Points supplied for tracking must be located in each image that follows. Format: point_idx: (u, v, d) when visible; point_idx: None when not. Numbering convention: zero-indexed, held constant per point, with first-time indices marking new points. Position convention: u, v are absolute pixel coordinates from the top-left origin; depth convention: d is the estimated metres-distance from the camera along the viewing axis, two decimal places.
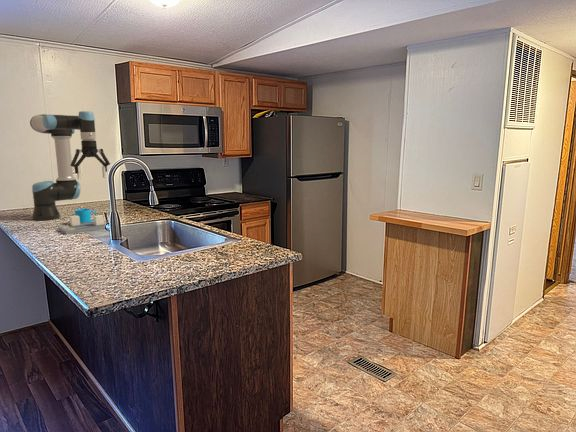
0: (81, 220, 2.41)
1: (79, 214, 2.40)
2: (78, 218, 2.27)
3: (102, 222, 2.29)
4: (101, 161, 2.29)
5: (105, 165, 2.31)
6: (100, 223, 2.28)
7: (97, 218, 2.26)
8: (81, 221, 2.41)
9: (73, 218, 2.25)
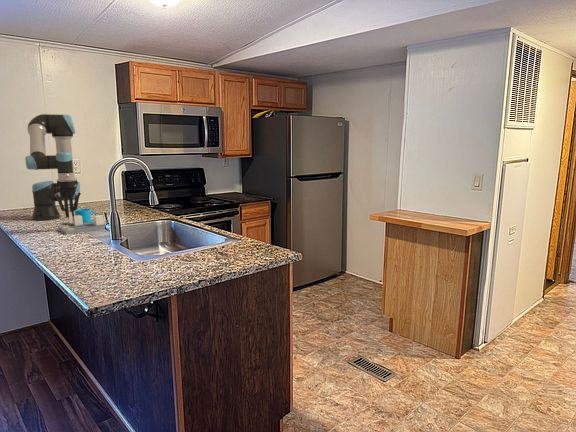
0: None
1: (79, 214, 2.40)
2: (81, 218, 2.28)
3: (102, 222, 2.29)
4: (71, 204, 2.24)
5: (72, 210, 2.25)
6: (100, 223, 2.28)
7: (97, 218, 2.26)
8: None
9: (76, 218, 2.26)
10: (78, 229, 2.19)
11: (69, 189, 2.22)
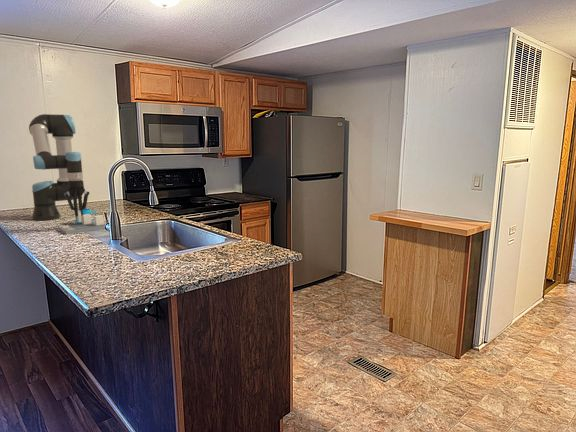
0: None
1: None
2: (89, 217, 2.31)
3: (102, 222, 2.29)
4: (80, 203, 2.27)
5: (81, 209, 2.28)
6: (100, 223, 2.28)
7: (97, 218, 2.26)
8: None
9: (85, 217, 2.29)
10: (78, 229, 2.19)
11: (78, 188, 2.26)
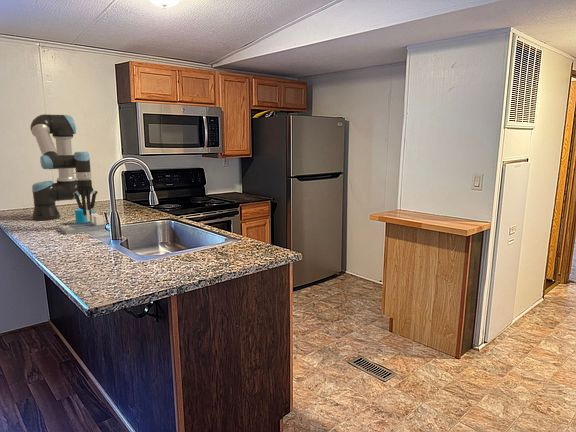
0: (81, 220, 2.41)
1: (79, 214, 2.40)
2: None
3: (102, 222, 2.29)
4: (88, 202, 2.30)
5: (89, 208, 2.31)
6: (100, 223, 2.28)
7: (97, 218, 2.26)
8: (81, 221, 2.41)
9: None
10: (78, 229, 2.19)
11: (87, 188, 2.29)
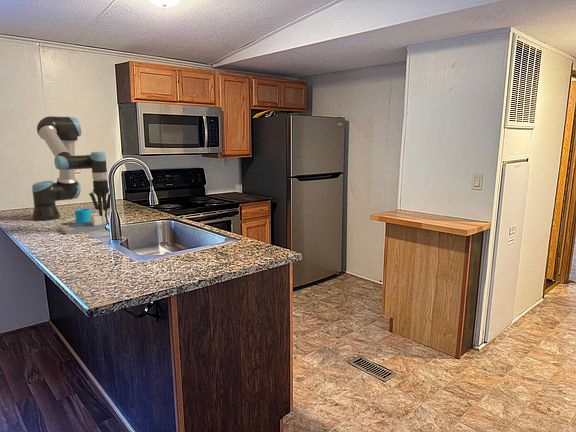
0: (81, 220, 2.41)
1: (79, 214, 2.40)
2: None
3: (100, 222, 2.28)
4: (104, 203, 2.29)
5: (105, 208, 2.29)
6: (98, 223, 2.27)
7: (95, 218, 2.26)
8: (81, 221, 2.41)
9: (93, 215, 2.32)
10: (78, 229, 2.19)
11: (103, 188, 2.27)
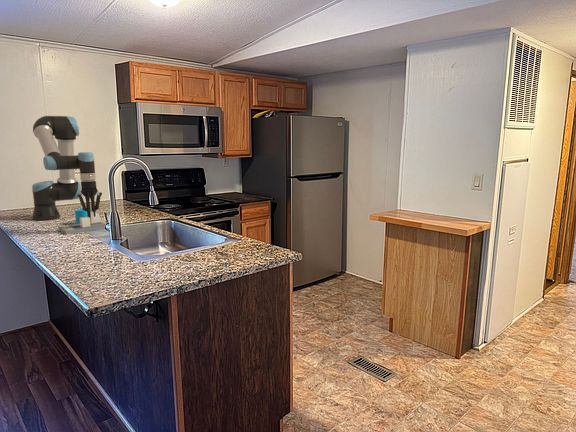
0: None
1: (79, 214, 2.40)
2: (98, 215, 2.34)
3: (88, 224, 2.24)
4: (93, 204, 2.24)
5: (93, 210, 2.25)
6: (86, 225, 2.23)
7: (83, 220, 2.21)
8: None
9: None
10: (78, 229, 2.19)
11: (91, 189, 2.23)
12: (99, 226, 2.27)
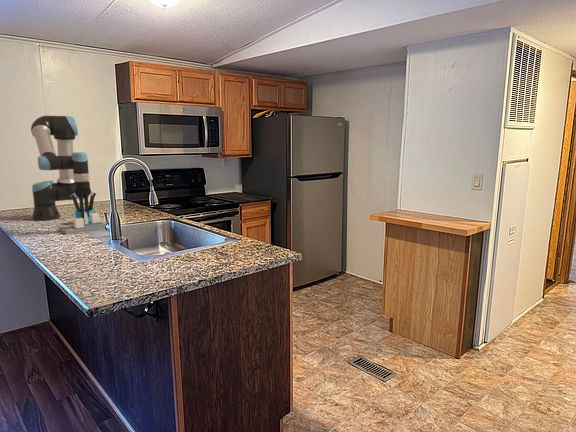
0: None
1: (79, 214, 2.40)
2: (98, 215, 2.34)
3: (82, 225, 2.21)
4: (86, 205, 2.22)
5: (87, 210, 2.23)
6: (80, 226, 2.21)
7: (77, 221, 2.19)
8: None
9: (93, 215, 2.32)
10: (78, 229, 2.19)
11: (85, 190, 2.21)
12: (99, 226, 2.27)
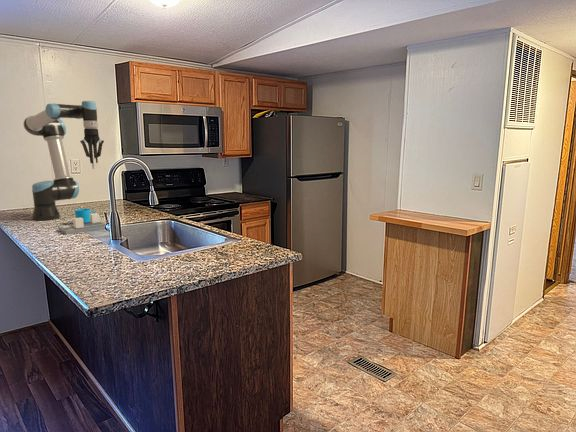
0: None
1: (79, 214, 2.40)
2: (98, 215, 2.34)
3: (82, 225, 2.21)
4: (95, 151, 2.40)
5: (96, 156, 2.41)
6: (80, 226, 2.20)
7: (76, 221, 2.19)
8: None
9: (93, 215, 2.32)
10: (78, 229, 2.19)
11: (93, 136, 2.38)
12: (99, 226, 2.27)
